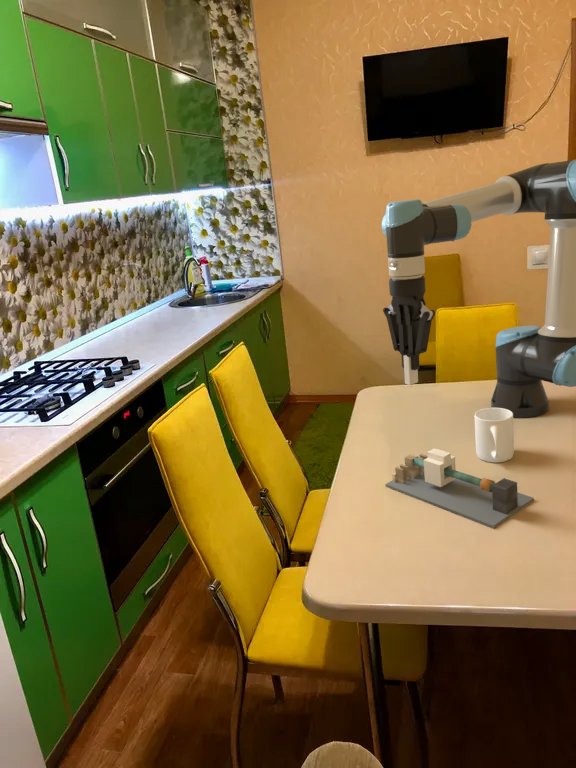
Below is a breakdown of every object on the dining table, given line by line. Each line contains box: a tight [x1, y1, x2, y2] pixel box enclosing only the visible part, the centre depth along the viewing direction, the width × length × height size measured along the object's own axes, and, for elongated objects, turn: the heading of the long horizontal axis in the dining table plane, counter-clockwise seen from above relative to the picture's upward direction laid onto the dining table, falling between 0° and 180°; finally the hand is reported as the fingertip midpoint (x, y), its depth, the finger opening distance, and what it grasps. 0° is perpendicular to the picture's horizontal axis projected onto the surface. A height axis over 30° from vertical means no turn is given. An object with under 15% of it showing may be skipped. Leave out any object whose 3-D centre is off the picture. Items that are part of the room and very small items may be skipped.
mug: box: [474, 407, 515, 464], centre depth 144 cm, size 9×12×11 cm
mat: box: [385, 472, 535, 530], centre depth 133 cm, size 14×28×1 cm, turn 38°
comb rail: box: [391, 453, 518, 514], centre depth 132 cm, size 10×27×6 cm, turn 38°
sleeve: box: [423, 447, 457, 487], centre depth 135 cm, size 5×4×7 cm
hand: (411, 382), depth 137 cm, fingers closed
